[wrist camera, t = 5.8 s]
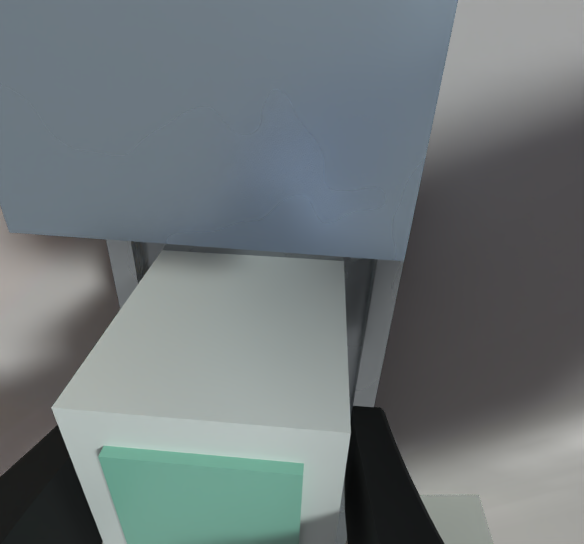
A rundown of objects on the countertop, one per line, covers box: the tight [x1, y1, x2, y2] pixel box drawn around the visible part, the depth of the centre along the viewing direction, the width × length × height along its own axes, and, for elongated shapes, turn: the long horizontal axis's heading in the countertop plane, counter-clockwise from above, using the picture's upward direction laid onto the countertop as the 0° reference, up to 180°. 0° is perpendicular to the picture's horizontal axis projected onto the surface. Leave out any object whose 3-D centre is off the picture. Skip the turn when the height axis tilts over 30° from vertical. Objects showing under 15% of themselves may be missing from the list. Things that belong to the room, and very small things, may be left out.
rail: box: [0, 0, 458, 544], centre depth 11 cm, size 7×20×6 cm, turn 177°
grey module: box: [51, 250, 351, 544], centre depth 10 cm, size 5×6×5 cm
